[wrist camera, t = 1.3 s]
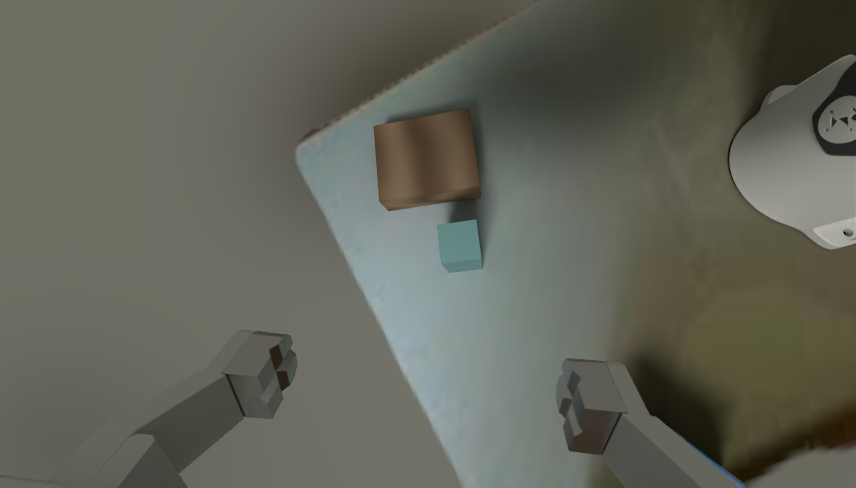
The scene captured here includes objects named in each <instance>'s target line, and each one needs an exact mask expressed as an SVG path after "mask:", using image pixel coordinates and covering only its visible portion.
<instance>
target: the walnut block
mask: <svg viewBox="0 0 856 488" xmlns="http://www.w3.org/2000/svg"><path fill="white" fill-rule="evenodd" d="M374 136H375V150H376V163H377V177H378V190H379V202H380V203H381V204H382V205H383V206H384V207H385V208H386V209H387V210H388V211H392V210H399V209H406V208H412V207H419V206H425V205H432V204H439V203H445V202H452V201H458V200H465V199H472V198H478V197H481V192H480V181H479V174H478V167H477V160H476V153H475V146H474V139H473V132H472V125H471V118H470V111H469V108H467V109H462V110H457V111H451V112H446V113H441V114H435V115H430V116H425V117H420V118H414V119H409V120H404V121H398V122H393V123H388V124H382V125H377V126H374Z"/></svg>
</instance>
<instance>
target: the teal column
mask: <svg viewBox="0 0 856 488" xmlns="http://www.w3.org/2000/svg"><path fill="white" fill-rule="evenodd" d="M437 230H438V239H439V248H440V257H441V264H442V265H443V266H444V267H445V268H446V269H447V271H448V272H449V273H452V272H460V271H469V270H477V269H482V258H481V251H480V243H479V236H478V229H477V222H476V220H469V221H462V222H455V223H448V224H441V225H437Z"/></svg>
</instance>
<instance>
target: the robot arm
mask: <svg viewBox="0 0 856 488" xmlns="http://www.w3.org/2000/svg"><path fill="white" fill-rule="evenodd" d="M729 162H730V170H731V174H732V177H733V180H734V182H735V184H736V186H737V188H738V189H739V191H740V192H741V194H742V195H743V196H744V197H745V199H746V200H747V201H748V202H749V203H750V204H751V205H752V206H754V207H755V208H756V209H757V210H759V211H760V212H761V213H763V214H765V215H766V216H768V217H770V218H772V219H774V220H776V221H778V222H781V223H784V224H786V225H789V226H792V227H794V228H796V229H798V230H800V231H802V232H803V233H804V234H805V235H807V236H808V237H809V238H810V239H812V240H813V241H814V242H816V243H817V244H818V245H820V246H822V247H824V248H826V249H838V248H841V247H844V246H848V245H851V244H854V243H856V55H855V56H854V55H851V54H850V55H847V56H844V57H842V58H840V59H838V60H836V61H835V62H833V63H832V64H830V65H828V66H827V67H825V68H824V69H822V70H820V71H819V72H817V73H816V74H814V75H813V76H811V77H809V78H808V79H806V80H805V81H803V82H802V83H800V84H798V85H784V86H779V87H777V88H776V89H774V90H772V91H771V92H769V93H768V94H767V96H766V97H765V99H764V101H763V103H762V106H761V108H760V111H759V112H758V113H757V114H756V115H755V116H754V117H753V118H752V119H751V120H749V121H748V122H747V123H746V124H745V125H744V126H743V127H742V128H741V129H740V131H739V132H738V133H737V135H736V137H735V139H734V141H733V143H732V146H731V150H730V157H729ZM843 231H844V232H845V233H846V236H845V235H844V233H843ZM292 344H293V342H292V339H291V336H290V335H287V334H278V333H270V332H261V331H250V330H239V331H238V332H236V333H235V334H234V335H233V336H232V338H231V339H230V340H229V341H228V342H227V344H226V345H225V346H224V347H223V349H222V350H221V351H220V352H219V353H218V355H217V356H216V357H215V358H214V360H213V361H212V362H211V363H210V364H209V366H208V367H207V368H206V369H205V370H204V372H197V373H195V374H193V375H192V376H190V377H188V378H187V379H185V380H183V381H181V382H179V383H177V384H176V385H174V386H172V387H170V388H169V389H167V390H165V391H163V392H162V393H160V394H158V395H156V396H154V397H153V398H151V399H149V400H147V401H146V402H144V403H142V404H140V405H138V406H137V407H135V408H133V409H131V410H129V411H128V412H126V413H124V414H122V415H121V416H119V417H117V418H115V419H113V420H112V421H110V422H108V423H106V424H105V425H103V426H101V427H100V428H99V429H98V430H97V431H96V432H95V433H94V434H93V435H92V436H91V437H90V438H89V439H88V440H87V441H86V442H85V443H84V444H83V445H82V446H81V447H80V448H79V449H78V450H77V451H76V452H75V453H74V454H73V455H72V456H71V457H70V458H69V459H68V461H66V462H65V463H64V464H63V466H62V467H61V468H60V469H59V470H58V471H57V472H56V473H55V474H54V475H53V476H52V477H51V478H50V479H49V480H48V481H45V480H37V479H30V478H22V477H14V476H6V475H0V488H187V485H186V484H185V482H184V481H183V479H182V478H181V476H180V475H179V473H180V472H181V471H183V470H184V469H185V468H186V467H187V466H189V465H190V464H191V463H192V462H193V461H194V460H195V459H196V458H198V457H199V456H200V455H202V454H203V453H204V452H205V451H206V450H207V449H209V448H210V447H211V446H212V445H213V444H215V443H216V442H217V441H218V440H219V439H220V438H222V437H223V436H224V435H225V434H226V433H228V432H229V431H230V430H231V429H232V428H233V427H235V426H236V425H237V424H238V423H239V422H241V421H242V420H243V419H244V417H253V418H265V419H266V418H267V419H273V417H274V415H275V413H276V411H277V409H278V408H279V406H280V404H281V402H282V400H283V395H282V391H283V390H284V389H286V388H287V387H288V386H290V385H291V383H292V381H293V379H294V376H295V373H296V369H297V358H296V354H295V353H294V352H293V351H292V350H291V349H290V348H291V346H292ZM562 371H563V375H562V376H560V377H559V378H558V381H557V385H556V401H557V406H558V410H559V413H560V414H561V415H562V416H563V417H564V418H565V421H564V424H563V430H564V434H565V438H566V442H567V446H568V450H569V451H572V452H580V453H587V454H595V455H602V459H603V460H604V461H605V462H606V464H607V465H608V466H609V467H610V469H611V470H612V471H613V472H614V474H615V475H616V476H617V477H618V479H619V480H620V481H621V482H622V484H623V485H624V486H625V487H626V488H740V487H739V486H738V485H737V484H735V483H734V482H733V481H732V480H731V479H729V478H728V477H727V476H726V475H725V474H724V473H722V472H721V471H720V470H719V469H718V468H716V467H715V466H714V465H713V464H712V463H711V462H709V461H708V460H707V459H706V458H705V457H703V456H702V455H701V454H700V453H699V452H697V451H696V450H695V449H694V448H693V447H692V446H690V445H689V444H688V443H687V442H686V441H684V440H683V439H682V438H681V437H680V436H679V435H677V434H676V433H675V432H674V431H673V430H671V429H670V428H669V427H668V426H667V425H666V424H664V423H663V422H662V421H661V420H660V419H658V418H657V417H654V416H650V414H649V412H648V410H647V408H646V406H645V404H644V402H643V400H642V398H641V396H640V394H639V392H638V390H637V389H636V387H635V385H634V383H633V381H632V379H631V377H630V375H629V373H628V371H627V369H626V367H625V365H624V364H623V363H621V362H608V361H597V360H584V359H571V358H566V359H565V360H564V361H563V364H562Z"/></svg>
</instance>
